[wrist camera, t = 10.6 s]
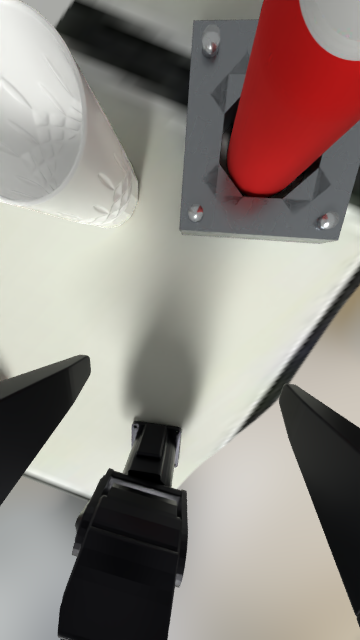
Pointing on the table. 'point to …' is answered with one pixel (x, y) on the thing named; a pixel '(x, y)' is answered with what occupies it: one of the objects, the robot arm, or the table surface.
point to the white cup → (56, 129)
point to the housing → (212, 181)
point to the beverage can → (295, 92)
